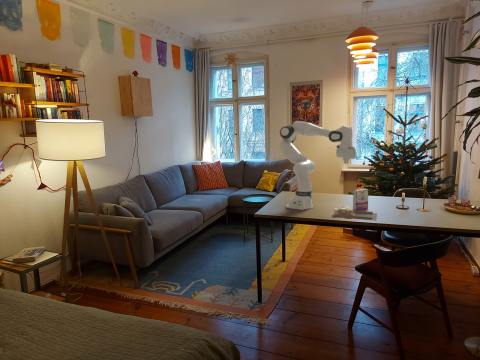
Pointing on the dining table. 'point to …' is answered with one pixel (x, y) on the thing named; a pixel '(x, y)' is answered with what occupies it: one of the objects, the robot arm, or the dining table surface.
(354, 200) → the candy bar box
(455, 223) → the dining table surface
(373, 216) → the mat
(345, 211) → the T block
